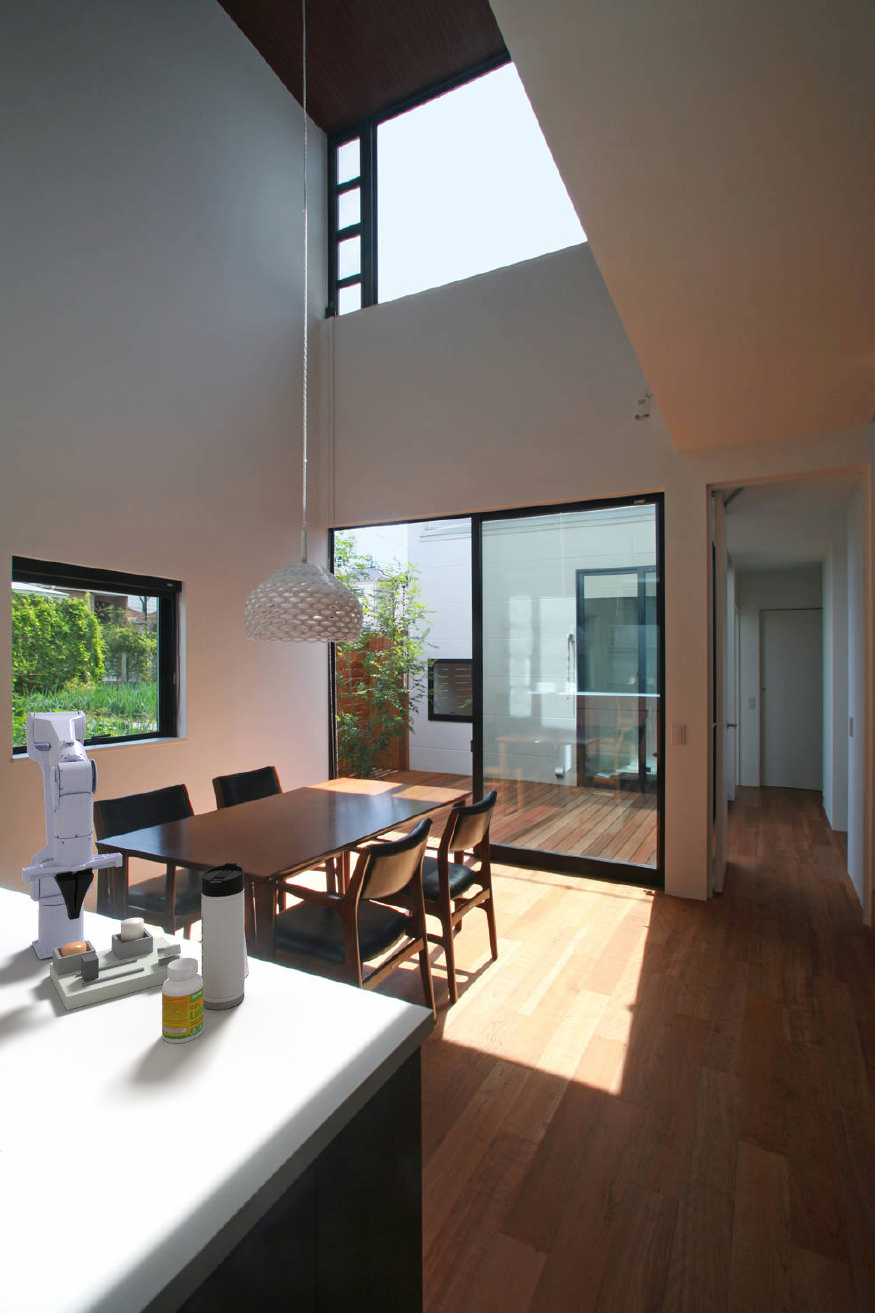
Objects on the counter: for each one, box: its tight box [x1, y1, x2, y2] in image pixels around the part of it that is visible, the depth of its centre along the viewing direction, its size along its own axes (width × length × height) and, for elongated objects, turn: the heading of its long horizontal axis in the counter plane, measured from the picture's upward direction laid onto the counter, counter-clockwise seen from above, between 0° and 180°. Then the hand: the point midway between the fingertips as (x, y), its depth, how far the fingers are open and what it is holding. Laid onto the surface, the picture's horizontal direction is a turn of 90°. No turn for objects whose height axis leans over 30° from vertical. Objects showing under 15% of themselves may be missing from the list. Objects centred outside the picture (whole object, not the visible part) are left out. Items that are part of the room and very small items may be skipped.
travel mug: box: [200, 862, 245, 1011], centre depth 104 cm, size 6×7×20 cm
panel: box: [49, 927, 184, 1011], centre depth 113 cm, size 15×18×5 cm
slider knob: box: [81, 953, 99, 981], centre depth 107 cm, size 3×2×3 cm
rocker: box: [157, 943, 182, 957], centre depth 113 cm, size 4×3×1 cm, turn 38°
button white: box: [120, 917, 145, 943], centre depth 118 cm, size 4×4×3 cm
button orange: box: [62, 941, 86, 957], centre depth 112 cm, size 4×4×3 cm
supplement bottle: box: [161, 957, 204, 1044], centre depth 94 cm, size 5×5×10 cm
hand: (73, 917), depth 112 cm, fingers closed
